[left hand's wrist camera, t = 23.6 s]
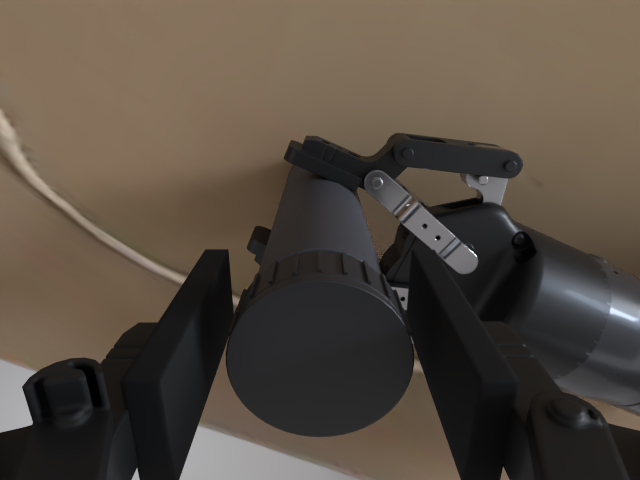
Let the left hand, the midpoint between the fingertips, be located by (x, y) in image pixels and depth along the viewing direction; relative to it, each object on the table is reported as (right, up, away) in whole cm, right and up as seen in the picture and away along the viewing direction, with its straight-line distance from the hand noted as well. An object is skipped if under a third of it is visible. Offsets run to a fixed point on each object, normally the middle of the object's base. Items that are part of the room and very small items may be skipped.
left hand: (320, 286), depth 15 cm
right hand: (-2, +4, +7) cm, 8 cm away
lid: (0, -1, -4) cm, 4 cm away
